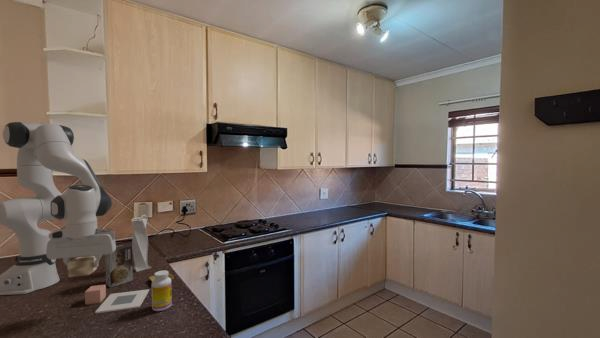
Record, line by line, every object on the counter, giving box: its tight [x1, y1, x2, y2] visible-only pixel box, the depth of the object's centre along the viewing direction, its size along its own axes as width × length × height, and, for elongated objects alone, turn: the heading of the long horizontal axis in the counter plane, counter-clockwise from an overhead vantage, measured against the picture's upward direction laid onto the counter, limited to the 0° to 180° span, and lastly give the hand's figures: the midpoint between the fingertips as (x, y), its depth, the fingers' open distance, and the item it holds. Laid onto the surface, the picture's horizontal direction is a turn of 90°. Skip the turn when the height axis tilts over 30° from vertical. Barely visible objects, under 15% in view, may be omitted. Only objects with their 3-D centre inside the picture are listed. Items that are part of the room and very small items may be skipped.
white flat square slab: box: [94, 288, 150, 315], centre depth 105 cm, size 14×14×1 cm
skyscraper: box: [131, 214, 153, 273], centre depth 137 cm, size 8×8×28 cm
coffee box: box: [104, 243, 134, 288], centre depth 122 cm, size 9×6×16 cm
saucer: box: [149, 271, 175, 283], centre depth 123 cm, size 9×9×2 cm
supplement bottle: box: [150, 269, 173, 312], centre depth 100 cm, size 7×7×13 cm
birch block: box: [67, 255, 98, 278], centre depth 98 cm, size 6×6×5 cm
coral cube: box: [84, 284, 107, 306], centre depth 106 cm, size 5×5×5 cm
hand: (83, 268), depth 98 cm, fingers closed on birch block, 6 cm apart
